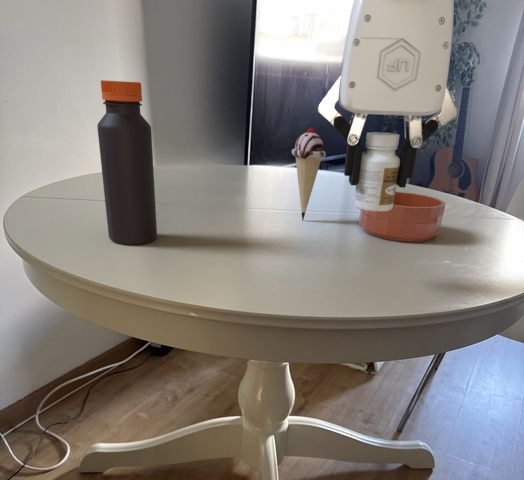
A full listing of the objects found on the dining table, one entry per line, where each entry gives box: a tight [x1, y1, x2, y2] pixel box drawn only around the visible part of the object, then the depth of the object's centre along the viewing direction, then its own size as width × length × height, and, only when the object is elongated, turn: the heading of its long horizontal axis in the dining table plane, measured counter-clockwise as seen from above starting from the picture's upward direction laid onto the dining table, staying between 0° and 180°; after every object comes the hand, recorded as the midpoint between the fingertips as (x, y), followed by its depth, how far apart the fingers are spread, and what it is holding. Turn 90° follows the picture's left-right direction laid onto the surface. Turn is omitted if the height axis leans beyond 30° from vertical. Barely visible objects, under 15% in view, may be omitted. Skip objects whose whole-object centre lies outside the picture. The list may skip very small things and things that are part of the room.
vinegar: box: [97, 79, 158, 246], centre depth 65 cm, size 7×7×20 cm
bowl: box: [357, 191, 446, 243], centre depth 80 cm, size 13×13×6 cm
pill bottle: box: [353, 131, 401, 211], centre depth 52 cm, size 4×4×8 cm
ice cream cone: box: [291, 127, 327, 222], centre depth 81 cm, size 6×6×15 cm
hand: (376, 182), depth 53 cm, fingers closed on pill bottle, 4 cm apart
